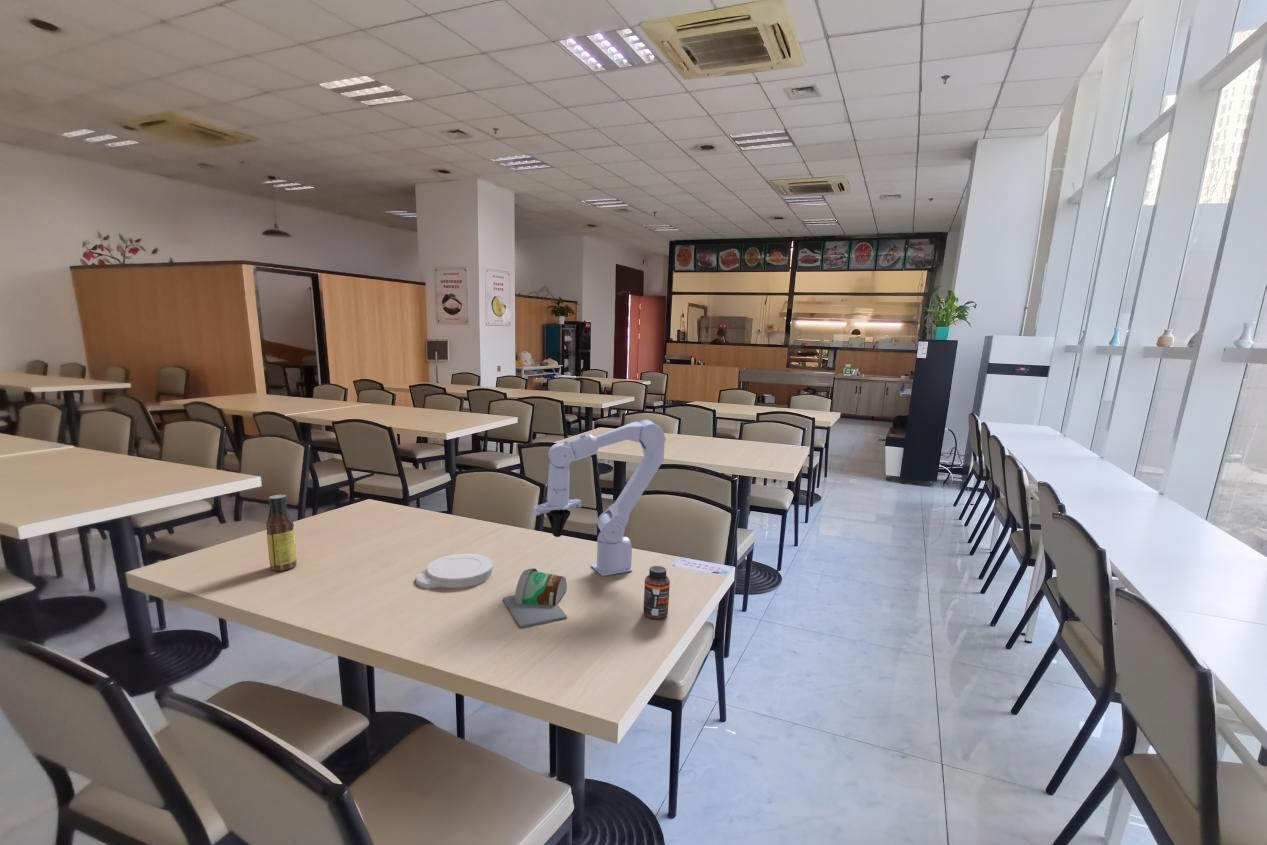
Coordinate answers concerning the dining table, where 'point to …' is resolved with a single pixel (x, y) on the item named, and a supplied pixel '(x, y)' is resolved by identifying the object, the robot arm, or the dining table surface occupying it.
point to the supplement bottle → (656, 593)
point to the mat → (533, 612)
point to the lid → (456, 571)
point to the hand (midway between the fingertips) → (556, 535)
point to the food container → (539, 588)
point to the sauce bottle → (280, 535)
